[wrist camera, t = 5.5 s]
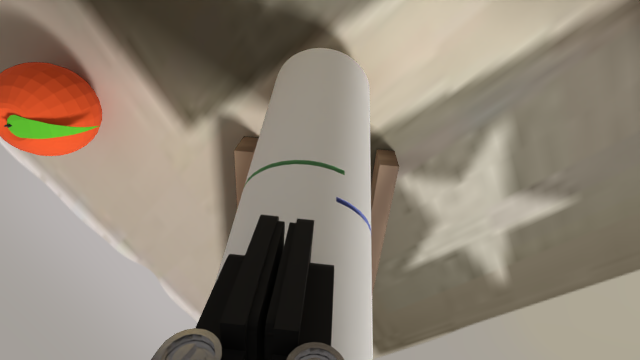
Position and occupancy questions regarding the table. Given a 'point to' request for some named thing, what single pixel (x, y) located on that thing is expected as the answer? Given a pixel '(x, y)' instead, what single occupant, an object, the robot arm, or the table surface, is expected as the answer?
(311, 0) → the table surface
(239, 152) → the cradle rails
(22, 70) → the clementine
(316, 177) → the cylindrical container
